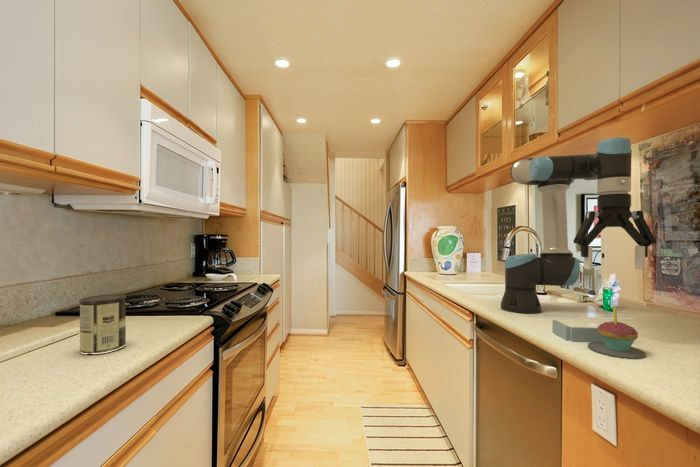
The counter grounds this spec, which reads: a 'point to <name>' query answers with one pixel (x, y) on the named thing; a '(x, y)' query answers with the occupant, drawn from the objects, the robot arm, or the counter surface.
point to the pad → (602, 349)
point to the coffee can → (102, 323)
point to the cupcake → (617, 334)
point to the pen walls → (576, 333)
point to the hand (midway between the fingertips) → (613, 269)
